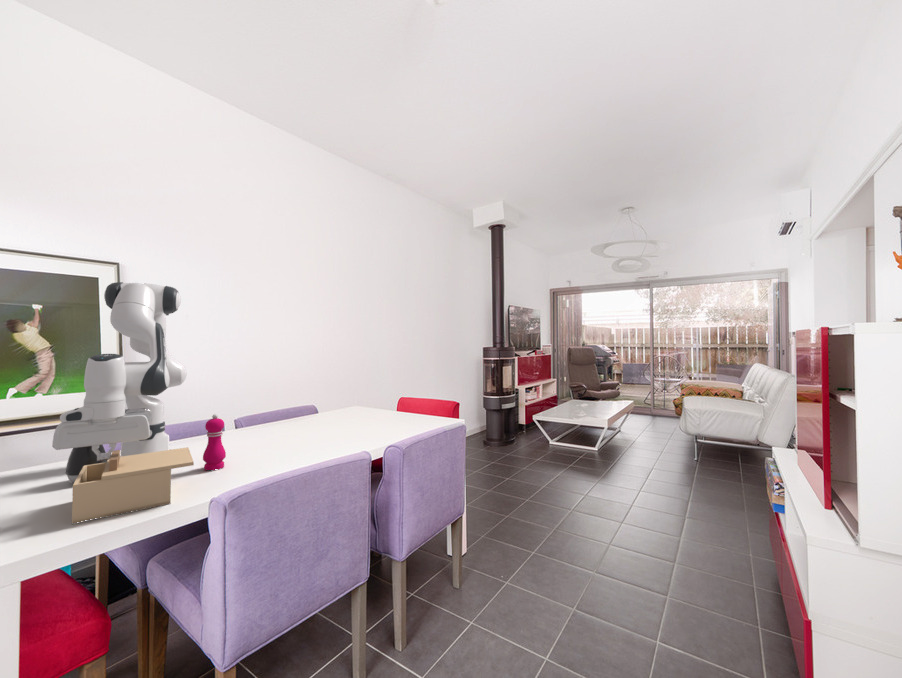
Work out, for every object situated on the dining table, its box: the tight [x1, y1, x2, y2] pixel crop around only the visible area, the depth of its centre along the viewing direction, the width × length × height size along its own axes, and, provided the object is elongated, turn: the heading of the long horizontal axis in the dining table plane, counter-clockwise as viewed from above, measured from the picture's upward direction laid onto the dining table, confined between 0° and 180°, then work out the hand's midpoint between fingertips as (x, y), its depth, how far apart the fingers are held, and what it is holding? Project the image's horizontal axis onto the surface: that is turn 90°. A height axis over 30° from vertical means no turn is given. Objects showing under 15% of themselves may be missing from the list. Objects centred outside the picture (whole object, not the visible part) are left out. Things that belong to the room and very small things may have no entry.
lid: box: [101, 447, 195, 480], centre depth 112 cm, size 20×20×4 cm
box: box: [71, 462, 172, 524], centre depth 109 cm, size 20×20×10 cm
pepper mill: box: [202, 413, 227, 471], centre depth 139 cm, size 7×7×20 cm
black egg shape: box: [65, 444, 108, 484], centre depth 125 cm, size 10×10×15 cm
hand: (104, 459), depth 106 cm, fingers closed
